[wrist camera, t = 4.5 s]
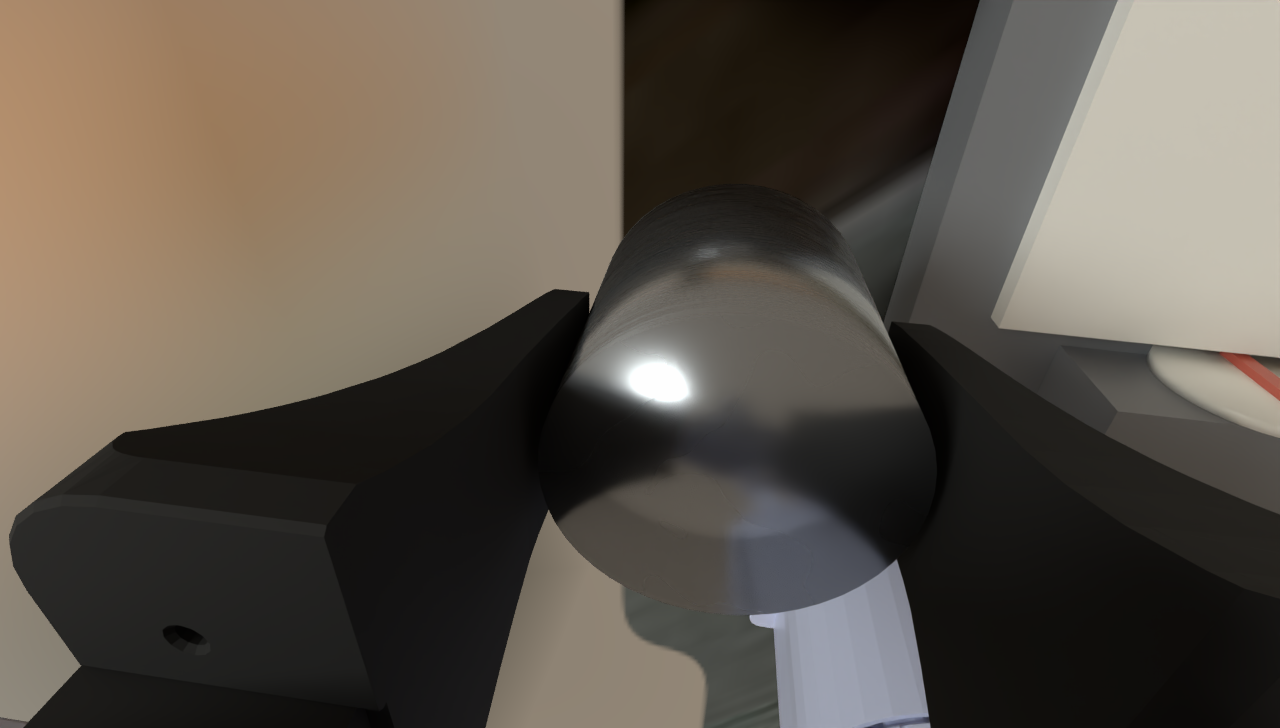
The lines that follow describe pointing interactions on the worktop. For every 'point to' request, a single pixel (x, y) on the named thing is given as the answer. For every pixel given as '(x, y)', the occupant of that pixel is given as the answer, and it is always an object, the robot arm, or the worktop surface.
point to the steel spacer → (736, 413)
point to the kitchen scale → (1117, 223)
